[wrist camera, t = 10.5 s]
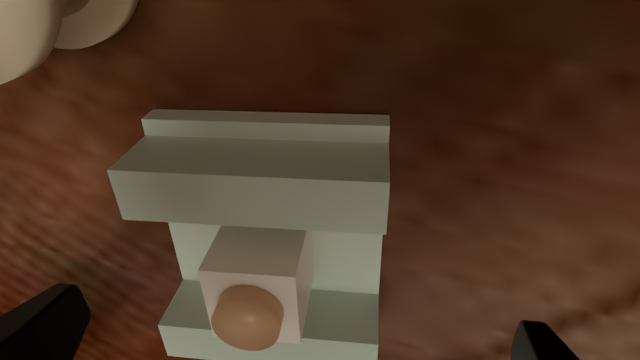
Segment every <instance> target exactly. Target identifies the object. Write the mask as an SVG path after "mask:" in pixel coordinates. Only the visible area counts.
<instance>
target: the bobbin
mask: <svg viewBox="0 0 640 360" xmlns="http://www.w3.org/2000/svg"><path fill="white" fill-rule="evenodd" d="M138 2H139V0H0V85H1V84H3V83H6V82H8V81H11V80H13V79H15V78H18V77H20V76H22V75H25V74H27V73H29V72H31V71H32V70H34V69H35V68H37V67H38V66H40V65H41V64H42V63H43V62H44V61H45V60H46V59H47V57H48V56H49V54H50V53H51V51H52V50H53V48H59V49H81V48H85V47H89V46H92V45H94V44H97V43H99V42H101V41H104V40H106V39H108V38H111V37H112V36H114V35H115V34H117V33H119V32H120V31H121V30H122V29H123V28H124V27H125V26H126V25H127V23H128V22H129V21H130V20H131V18H132V16H133V14H134V12H135V10H136V8H137V5H138Z"/></svg>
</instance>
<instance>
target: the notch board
mask: <svg viewBox="0 0 640 360" xmlns="http://www.w3.org/2000/svg"><path fill="white" fill-rule="evenodd" d="M141 121H142V125H143V129H144V133H145V136H144V137H143V138H142V139H141V140H140V141H138V142H137V143H136V144H135V145H134V146H133V147H132V148H131V149H130V150H129V151H127V152H126V153H125V154H124V155H123V156H122V157H121V158H120V159H119V160H118V161H116V162H115V163H114V164H113V165H112V166H111V167H110V168H109V169H108V170H107V173H108V176H109V179H110V182H111V185H112V188H113V191H114V194H115V197H116V200H117V203H118V206H119V209H120V212H121V215H122V218H123V220H139V221H156V222H168V224H169V228H170V232H171V235H172V239H173V243H174V247H175V251H176V254H177V258H178V262H179V266H180V270H181V274H182V277H183V281H182V283H181V284H180V286H179V288H178V290H177V292H176V293H175V295H174V297H173V299H172V301H171V302H170V304H169V306H168V308H167V310H166V311H165V313H164V315H163V317H162V319H161V320H160V322H159V324H158V327H159V330H160V333H161V336H162V339H163V342H164V346H165V349H166V352H167V355H168V356H176V357H186V358H196V359H206V360H377V356H378V319H379V282H380V268H381V253H382V238H383V235H386V232H387V219H388V205H389V191H390V164H389V134H390V115H370V114H330V113H291V112H251V111H212V110H173V109H153V110H151V111H150V112H149V113H148V114H147V115H145V116H144V117H143V118H142V119H141ZM221 225H224V226H241V227H258V228H275V229H292V230H310V231H312V232H313V254H314V277H313V282H312V287H311V292H310V298H309V303H308V308H307V313H306V319H305V324H304V329H303V334H302V339H301V344H294V343H283V342H276V343H275V344H274V345H272V346H271V347H269V348H267V349H264V350H260V351H247V350H241V349H238V348H235V347H232V346H230V345H228V344H227V343H225V342H224V341H222V340H221V339H220V338H219V337H215V336H213V333H212V329H211V325H210V321H209V317H208V312H207V308H206V304H205V300H204V296H203V292H202V287H201V283H200V279H199V275H198V271H197V270H198V269H199V267H200V265H201V263H202V261H203V259H204V257H205V255H206V253H207V252H208V250H209V248H210V246H211V244H212V242H213V240H214V238H215V236H216V234H217V233H218V231H219V229H220V227H221Z"/></svg>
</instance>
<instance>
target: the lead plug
mask: <svg viewBox="0 0 640 360" xmlns="http://www.w3.org/2000/svg"><path fill="white" fill-rule="evenodd" d="M197 271H198V275H199V279H200V283H201V287H202V292H203V296H204V300H205V304H206V308H207V312H208V317H209V321H210V325H211V329H212V333H213V336H215V337H219V338H220V339H221V340H222V341H224V342H225V343H227V344H228V345H230V346H232V347H235V348H238V349H241V350H247V351H260V350H264V349H267V348H269V347H271V346H272V345H274V344H275V343H276V342H283V343H294V344H301V339H302V334H303V329H304V324H305V319H306V313H307V308H308V303H309V298H310V292H311V287H312V282H313V277H314V254H313V232H312V231H310V230H292V229H275V228H258V227H241V226H224V225H221V227H220V229H219V231H218V233H217V234H216V236H215V238H214V240H213V242H212V244H211V246H210V248H209V250H208V252H207V253H206V255H205V257H204V259H203V261H202V263H201V265H200V267H199V269H198V270H197Z"/></svg>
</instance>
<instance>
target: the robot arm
mask: <svg viewBox="0 0 640 360" xmlns="http://www.w3.org/2000/svg"><path fill="white" fill-rule="evenodd" d="M90 320H91V309H90V306H89V304H88V302H87V300H86V298H85V296H84V294H83V292H82V290H81V288H80V287H79V286H78V285H75V284H64V283H60V284H56V285H54V286H52V287H51V288H49V289H47V290H45V291H44V292H42V293H40V294H38V295H37V296H35V297H33V298H32V299H30V300H28V301H26V302H25V303H23V304H21V305H19V306H18V307H16V308H14V309H13V310H11V311H9V312H7V313H6V314H4V315H2V316H0V360H73V358H74V356H75V354H76V351H77V349H78V347H79V345H80V342H81V340H82V338H83V336H84V334H85V331H86V329H87V327H88V325H89V323H90ZM511 360H580V359H579V358H578V357H577V356H576V355H575V354H574V353H573V352H572V351H571V350H570V349H569V348H568V346H567V345H566V344H565V343H564V342H563V341H562V340H561V339H560V338H559V337H558V336H557V335H556V333H555V332H554V331H553V330H552V329H551V328H550V327H549V326H548V325H547V324H545V323H544V322H540V321H528V320H523V321H521V322H520V323H519V324H518V327H517V331H516V334H515V337H514V341H513V344H512V348H511Z"/></svg>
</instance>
